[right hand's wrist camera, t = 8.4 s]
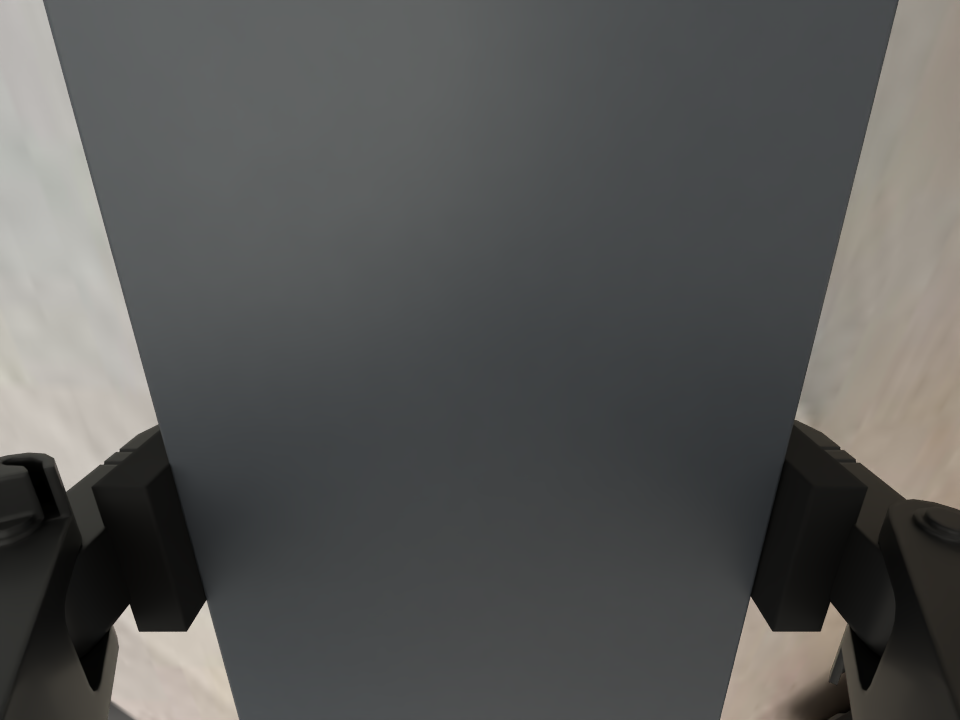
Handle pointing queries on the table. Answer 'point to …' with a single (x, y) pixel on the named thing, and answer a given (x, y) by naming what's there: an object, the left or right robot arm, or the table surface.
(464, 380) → the thick board
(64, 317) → the table surface
